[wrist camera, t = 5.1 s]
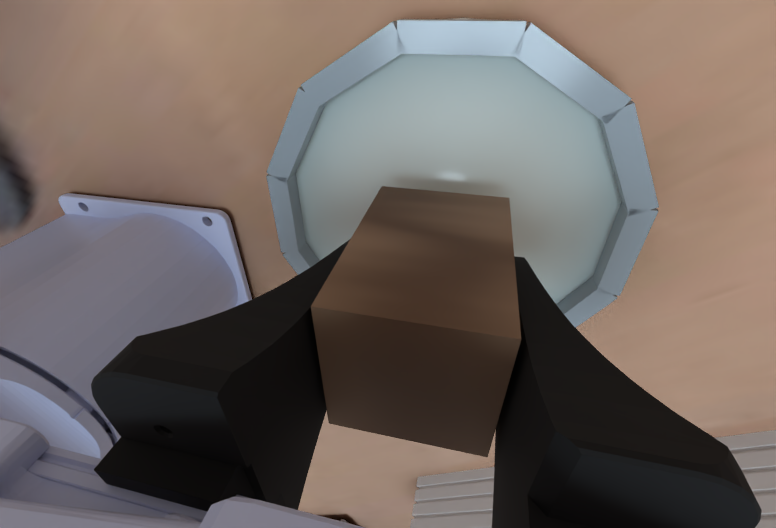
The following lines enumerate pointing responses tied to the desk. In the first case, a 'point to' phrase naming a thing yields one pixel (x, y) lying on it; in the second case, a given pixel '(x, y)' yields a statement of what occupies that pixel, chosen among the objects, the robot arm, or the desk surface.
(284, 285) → the robot arm
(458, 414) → the block
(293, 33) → the desk surface
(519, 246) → the dish
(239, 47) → the desk surface
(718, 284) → the desk surface
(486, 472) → the grey ribbed box
